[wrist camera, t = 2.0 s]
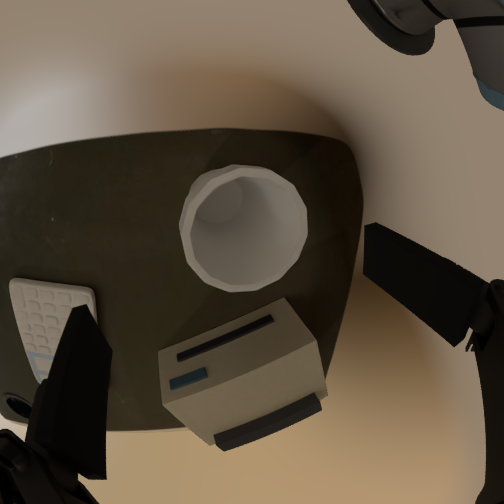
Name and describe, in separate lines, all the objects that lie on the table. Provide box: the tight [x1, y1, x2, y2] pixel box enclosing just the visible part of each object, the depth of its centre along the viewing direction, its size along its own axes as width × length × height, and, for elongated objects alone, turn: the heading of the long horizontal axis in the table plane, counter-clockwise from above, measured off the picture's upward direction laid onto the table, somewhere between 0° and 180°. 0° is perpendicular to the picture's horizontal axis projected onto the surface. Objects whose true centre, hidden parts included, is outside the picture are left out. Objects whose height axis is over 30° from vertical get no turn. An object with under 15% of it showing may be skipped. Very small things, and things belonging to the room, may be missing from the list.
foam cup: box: [179, 164, 308, 292], centre depth 25 cm, size 10×9×13 cm
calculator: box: [9, 278, 98, 384], centre depth 30 cm, size 13×20×2 cm, turn 168°
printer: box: [158, 297, 328, 451], centre depth 36 cm, size 20×14×12 cm
